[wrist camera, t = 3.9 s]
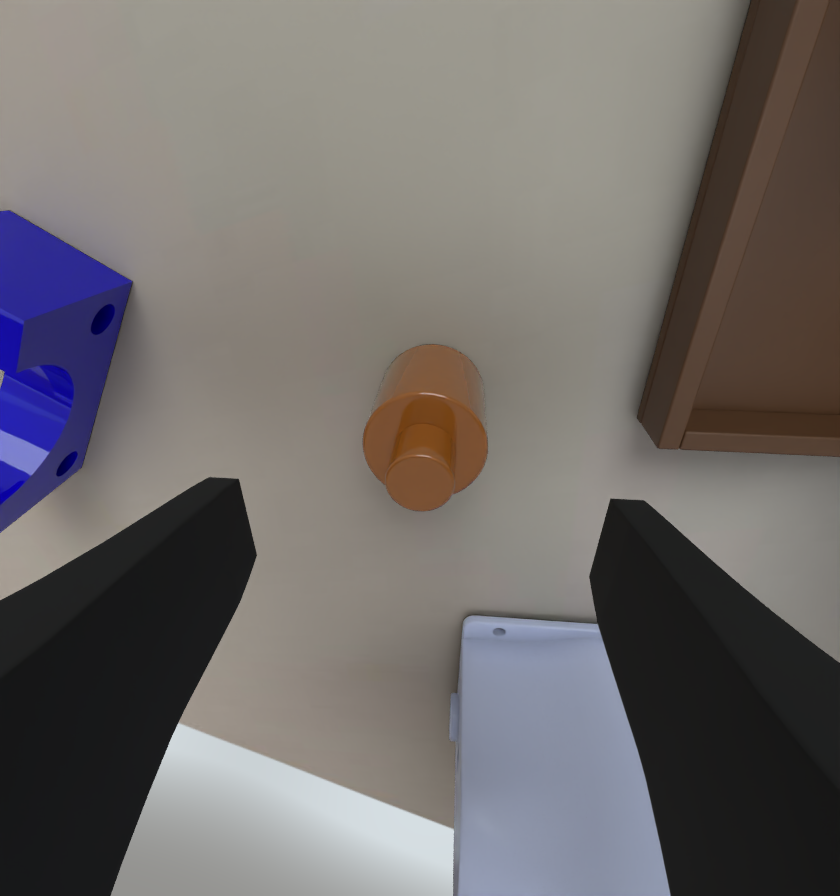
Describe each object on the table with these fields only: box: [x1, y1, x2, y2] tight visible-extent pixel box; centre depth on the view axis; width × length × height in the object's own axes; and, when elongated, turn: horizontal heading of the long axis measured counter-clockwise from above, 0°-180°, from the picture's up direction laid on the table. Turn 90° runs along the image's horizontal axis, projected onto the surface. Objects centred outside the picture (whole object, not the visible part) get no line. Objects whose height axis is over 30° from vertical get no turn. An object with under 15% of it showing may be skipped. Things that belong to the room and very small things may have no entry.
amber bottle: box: [363, 344, 488, 511], centre depth 13 cm, size 3×3×5 cm
